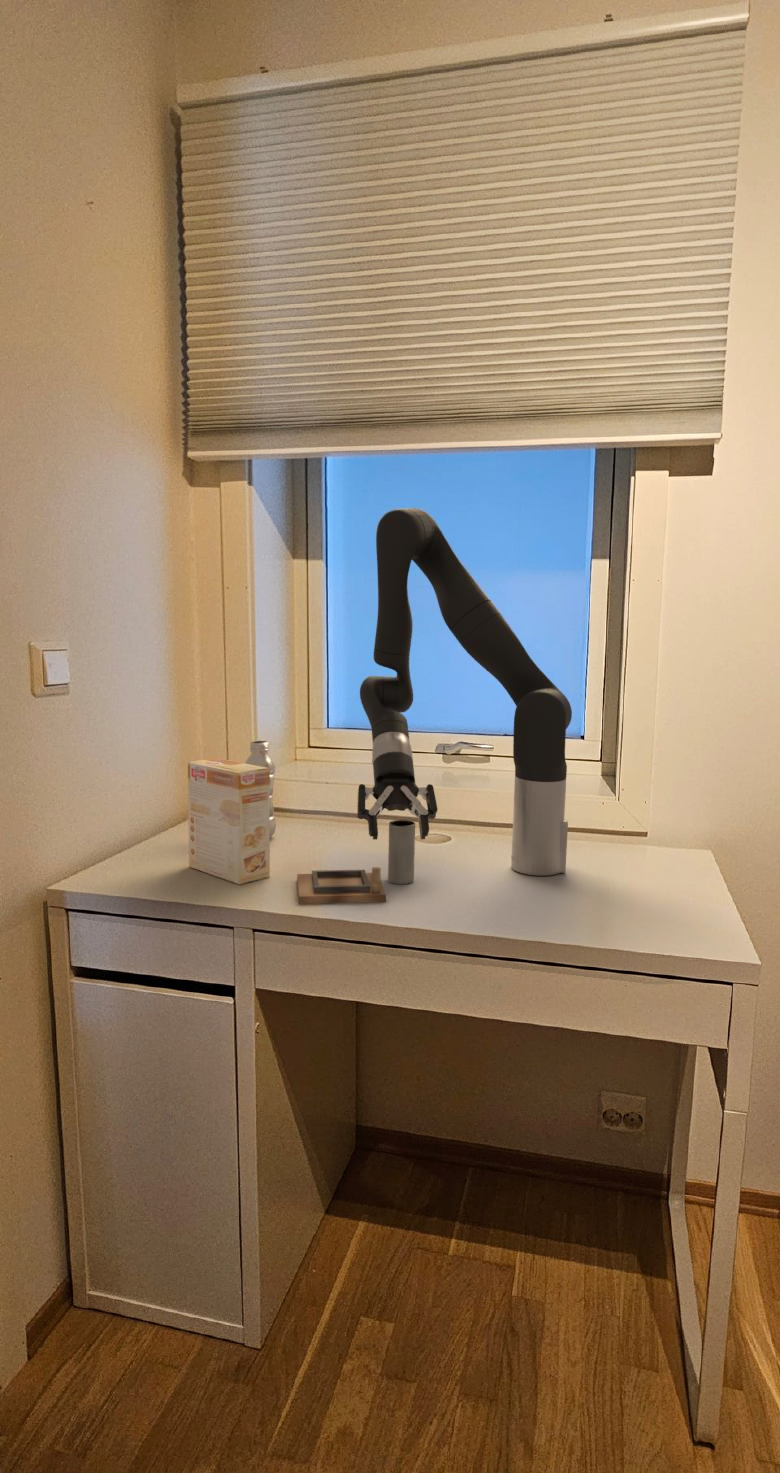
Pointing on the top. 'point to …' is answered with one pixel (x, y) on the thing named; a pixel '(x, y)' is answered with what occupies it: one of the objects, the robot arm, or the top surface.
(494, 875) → the top surface
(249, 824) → the coffeecake box
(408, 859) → the grey hollow cylinder
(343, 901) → the socket board
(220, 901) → the top surface
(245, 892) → the top surface
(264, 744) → the plastic bottle
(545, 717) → the robot arm
